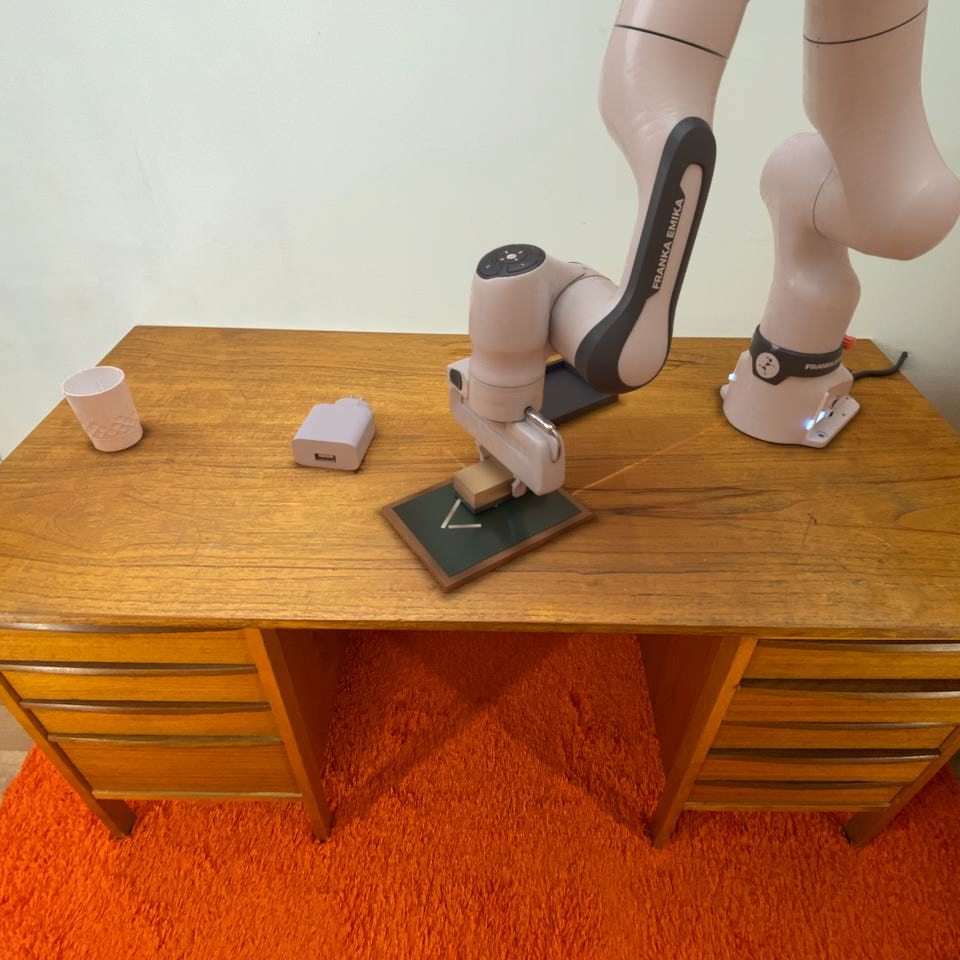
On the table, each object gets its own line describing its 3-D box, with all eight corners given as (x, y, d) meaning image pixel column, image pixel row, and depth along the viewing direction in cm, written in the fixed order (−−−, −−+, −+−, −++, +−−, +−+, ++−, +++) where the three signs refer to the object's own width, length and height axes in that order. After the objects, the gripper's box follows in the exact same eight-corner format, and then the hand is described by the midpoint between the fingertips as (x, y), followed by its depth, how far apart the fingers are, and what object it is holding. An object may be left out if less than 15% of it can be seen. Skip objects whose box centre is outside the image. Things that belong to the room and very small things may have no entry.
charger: (387, 412, 101) (358, 471, 89) (330, 406, 102) (295, 464, 90) (384, 386, 98) (354, 444, 86) (326, 381, 99) (289, 437, 87)
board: (517, 455, 92) (518, 449, 92) (591, 519, 82) (593, 512, 81) (381, 513, 83) (380, 506, 82) (446, 593, 73) (446, 586, 72)
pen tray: (563, 367, 112) (564, 356, 110) (617, 403, 103) (619, 392, 102) (480, 397, 104) (480, 386, 103) (531, 438, 96) (532, 427, 94)
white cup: (159, 431, 96) (136, 373, 90) (116, 460, 91) (89, 401, 84) (120, 418, 99) (96, 361, 92) (76, 446, 93) (47, 387, 87)
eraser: (526, 462, 89) (528, 442, 87) (549, 481, 86) (551, 461, 83) (453, 493, 84) (453, 472, 81) (474, 515, 80) (474, 494, 78)
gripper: (584, 423, 70) (571, 516, 79) (480, 347, 83) (479, 434, 92) (539, 442, 67) (530, 535, 76) (438, 360, 80) (441, 448, 89)
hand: (502, 479), depth 84 cm, fingers closed on eraser, 5 cm apart
